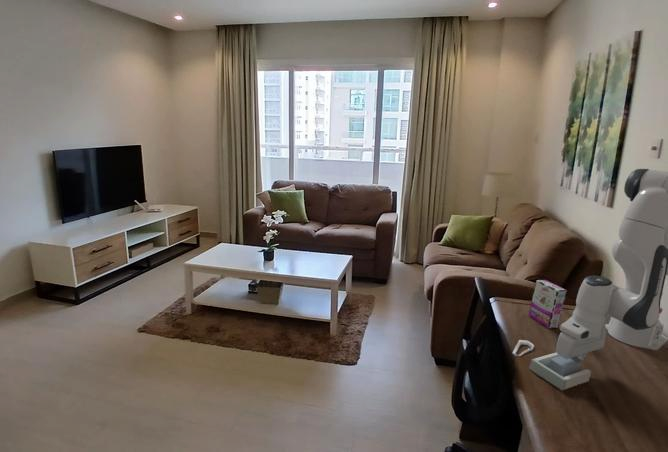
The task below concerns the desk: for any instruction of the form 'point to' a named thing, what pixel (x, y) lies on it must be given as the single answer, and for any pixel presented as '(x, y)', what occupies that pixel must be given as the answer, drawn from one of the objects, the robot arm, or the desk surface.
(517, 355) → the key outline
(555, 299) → the candy bar box
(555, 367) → the grey-blue box
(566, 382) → the bay
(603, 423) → the desk surface
